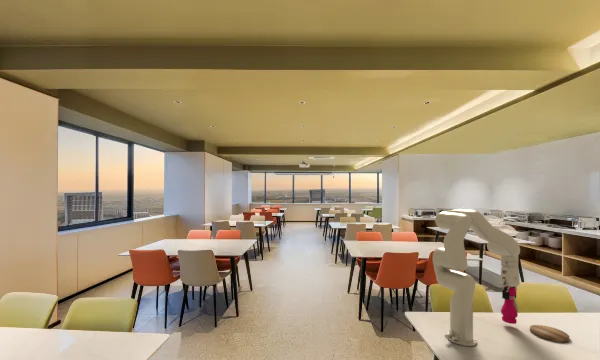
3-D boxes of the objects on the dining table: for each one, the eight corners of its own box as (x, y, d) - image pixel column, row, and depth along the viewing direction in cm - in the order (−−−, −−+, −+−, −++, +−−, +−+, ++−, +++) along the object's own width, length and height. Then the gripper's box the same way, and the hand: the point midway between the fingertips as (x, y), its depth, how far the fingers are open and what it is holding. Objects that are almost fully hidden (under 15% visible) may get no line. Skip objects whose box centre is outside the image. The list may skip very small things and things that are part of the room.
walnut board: (561, 345, 137) (561, 342, 137) (523, 331, 150) (523, 328, 150) (575, 338, 144) (575, 335, 144) (538, 325, 157) (538, 322, 157)
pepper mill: (520, 325, 151) (520, 285, 152) (504, 323, 153) (504, 284, 154) (513, 319, 158) (513, 281, 159) (498, 317, 160) (498, 280, 161)
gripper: (508, 266, 150) (508, 303, 149) (525, 263, 158) (525, 298, 157) (492, 263, 156) (492, 298, 155) (510, 260, 164) (510, 293, 164)
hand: (509, 297), depth 156 cm, fingers closed on pepper mill, 6 cm apart
